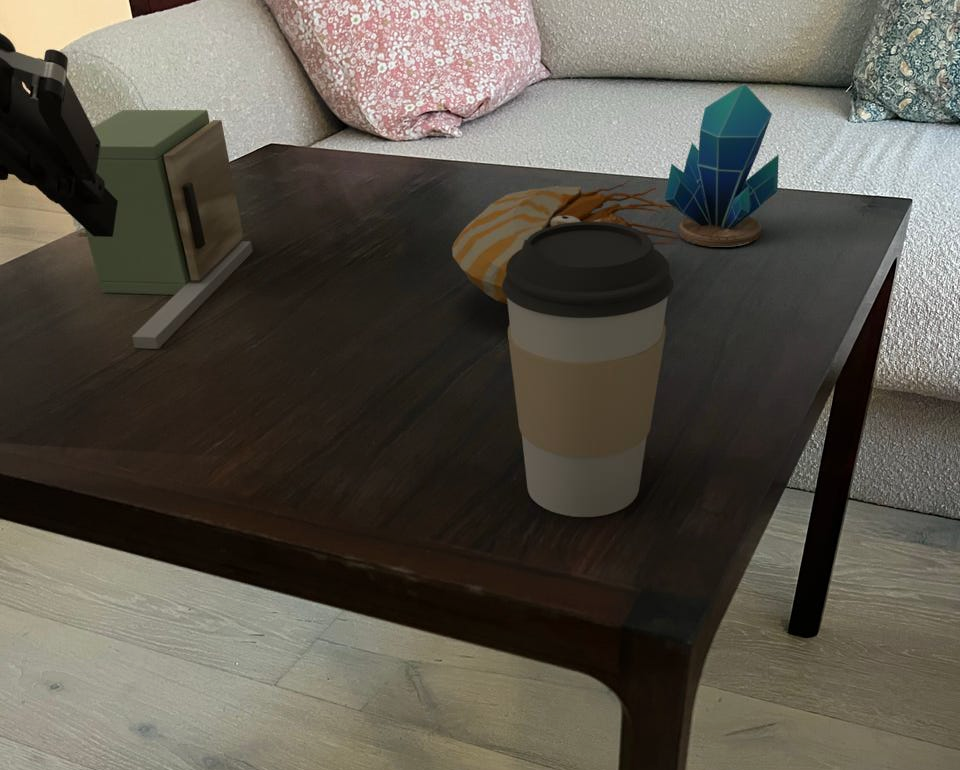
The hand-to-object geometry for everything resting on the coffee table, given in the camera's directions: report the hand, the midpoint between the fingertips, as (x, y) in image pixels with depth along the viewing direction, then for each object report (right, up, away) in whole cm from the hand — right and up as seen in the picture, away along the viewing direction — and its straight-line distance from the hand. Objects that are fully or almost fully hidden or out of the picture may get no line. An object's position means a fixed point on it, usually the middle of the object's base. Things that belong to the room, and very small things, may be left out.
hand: (105, 218), depth 75 cm
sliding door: (+4, +4, +18) cm, 18 cm away
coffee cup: (+33, -21, -11) cm, 41 cm away
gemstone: (+48, +6, +20) cm, 53 cm away
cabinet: (-1, 0, +15) cm, 15 cm away
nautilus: (+35, -2, +12) cm, 37 cm away
